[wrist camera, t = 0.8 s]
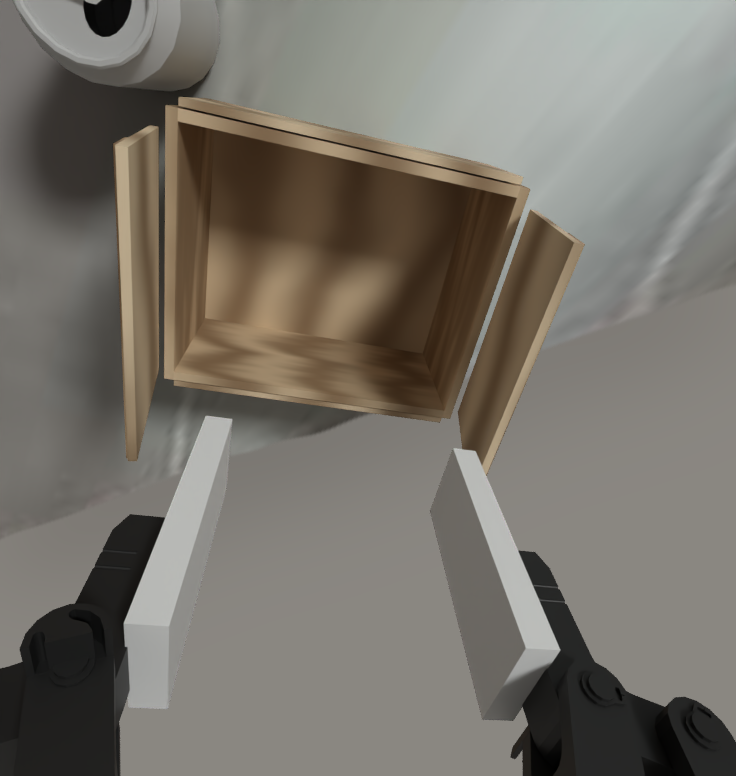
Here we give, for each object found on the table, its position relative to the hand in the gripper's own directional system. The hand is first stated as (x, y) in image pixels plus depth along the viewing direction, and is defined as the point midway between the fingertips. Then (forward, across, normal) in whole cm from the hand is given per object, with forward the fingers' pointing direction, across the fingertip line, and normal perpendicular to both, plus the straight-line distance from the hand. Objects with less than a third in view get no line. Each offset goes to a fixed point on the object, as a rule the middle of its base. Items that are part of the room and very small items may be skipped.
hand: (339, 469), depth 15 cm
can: (+27, -13, +12) cm, 32 cm away
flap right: (+12, +9, 0) cm, 15 cm away
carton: (+27, 0, 0) cm, 27 cm away
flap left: (+12, -9, 0) cm, 15 cm away
